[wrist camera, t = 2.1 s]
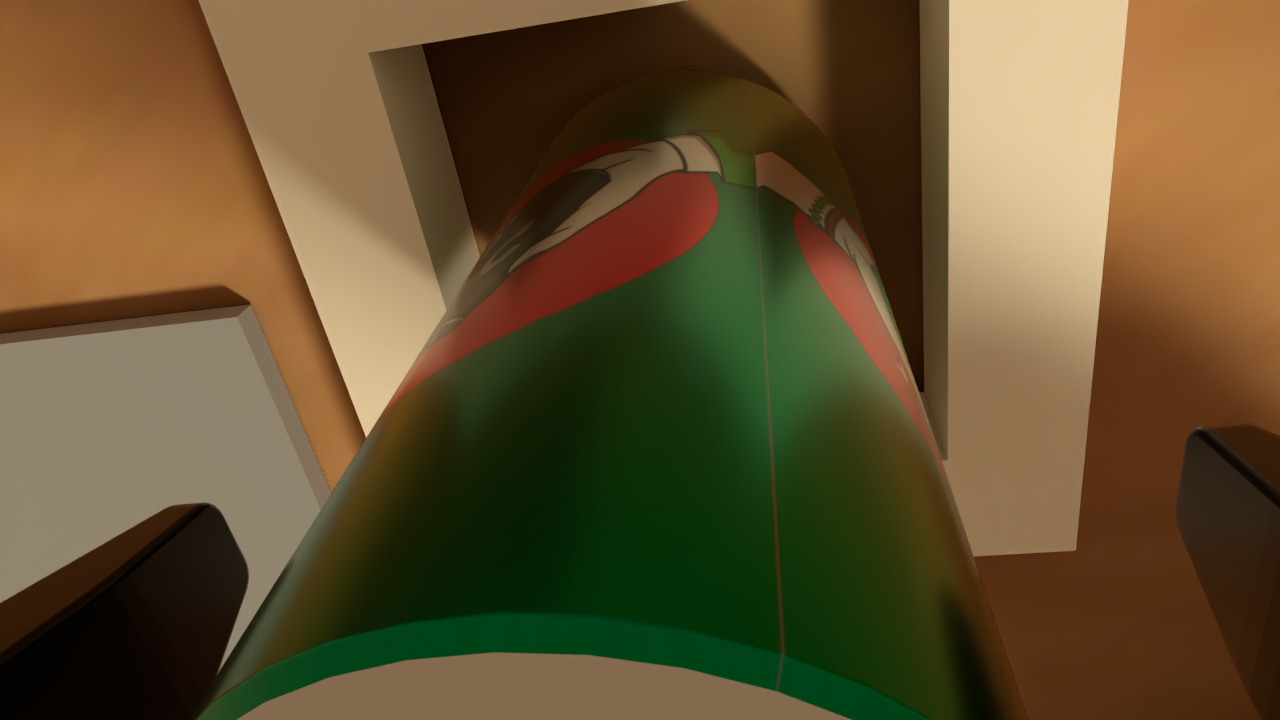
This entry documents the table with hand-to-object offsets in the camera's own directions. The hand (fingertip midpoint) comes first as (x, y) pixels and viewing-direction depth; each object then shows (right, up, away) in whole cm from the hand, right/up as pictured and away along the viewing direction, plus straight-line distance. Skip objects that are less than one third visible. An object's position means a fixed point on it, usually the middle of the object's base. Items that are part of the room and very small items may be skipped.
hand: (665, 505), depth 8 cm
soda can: (+1, +4, +6) cm, 7 cm away
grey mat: (-11, -2, +11) cm, 16 cm away
